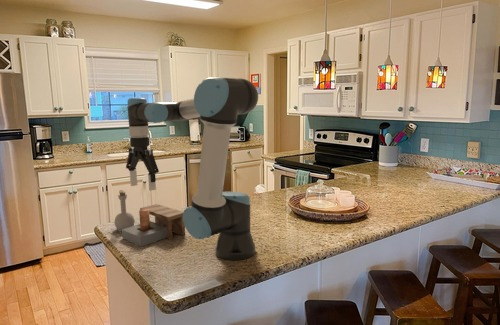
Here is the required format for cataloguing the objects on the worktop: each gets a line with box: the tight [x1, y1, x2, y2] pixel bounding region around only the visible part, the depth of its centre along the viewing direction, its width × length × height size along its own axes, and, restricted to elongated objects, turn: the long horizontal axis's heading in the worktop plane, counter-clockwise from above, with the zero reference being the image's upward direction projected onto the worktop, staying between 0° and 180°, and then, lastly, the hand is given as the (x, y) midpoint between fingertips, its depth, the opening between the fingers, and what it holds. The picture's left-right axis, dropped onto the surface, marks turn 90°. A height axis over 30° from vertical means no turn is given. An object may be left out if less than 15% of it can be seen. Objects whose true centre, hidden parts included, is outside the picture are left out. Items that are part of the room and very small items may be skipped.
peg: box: [138, 209, 151, 232], centre depth 155 cm, size 4×4×12 cm
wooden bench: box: [139, 203, 186, 241], centre depth 161 cm, size 21×8×10 cm, turn 49°
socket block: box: [121, 220, 167, 247], centre depth 155 cm, size 14×14×4 cm
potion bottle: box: [114, 189, 136, 232], centre depth 165 cm, size 9×9×18 cm
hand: (143, 187), depth 152 cm, fingers open, 13 cm apart
